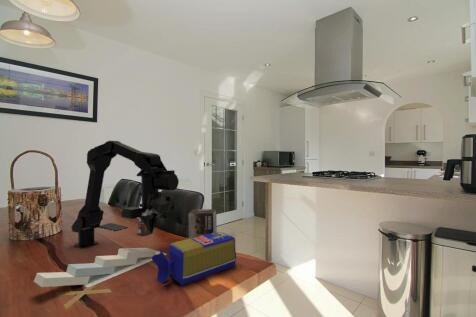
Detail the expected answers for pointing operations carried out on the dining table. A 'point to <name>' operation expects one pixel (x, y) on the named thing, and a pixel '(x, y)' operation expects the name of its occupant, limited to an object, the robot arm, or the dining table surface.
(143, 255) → the domino
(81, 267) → the domino
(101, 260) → the domino
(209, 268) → the bread
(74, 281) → the domino
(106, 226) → the smartphone
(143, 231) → the supplement bottle
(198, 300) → the dining table surface
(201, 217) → the coffee box
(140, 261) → the row mat
